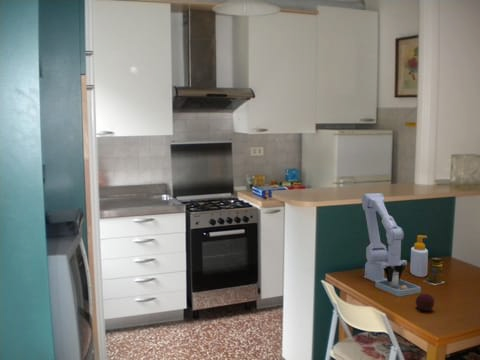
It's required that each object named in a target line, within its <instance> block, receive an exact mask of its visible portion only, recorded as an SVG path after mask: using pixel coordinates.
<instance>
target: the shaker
mask: <svg viewBox="0 0 480 360" xmlns="http://www.w3.org/2000/svg"><path fill="white" fill-rule="evenodd" d="M389 285H390V286H398V285H399V271H396V270H395V269H394V271H393V275H392V282H389Z"/></svg>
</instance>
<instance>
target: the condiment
mask: <svg viewBox="0 0 480 360" xmlns="http://www.w3.org/2000/svg"><path fill="white" fill-rule="evenodd" d="M428 269H429V270H428V272H429V273H428V275H429V276H428V279H425V280H423V282H424V283H427V284H429V285H432V286H433V285H434V286H436V285H441V284H444V283H446V282H445V281H443V280H442V279H443V259H442V258H440V257H431V258H430V263H429V268H428ZM430 282H431V283H430ZM434 283H435V284H434Z"/></svg>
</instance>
